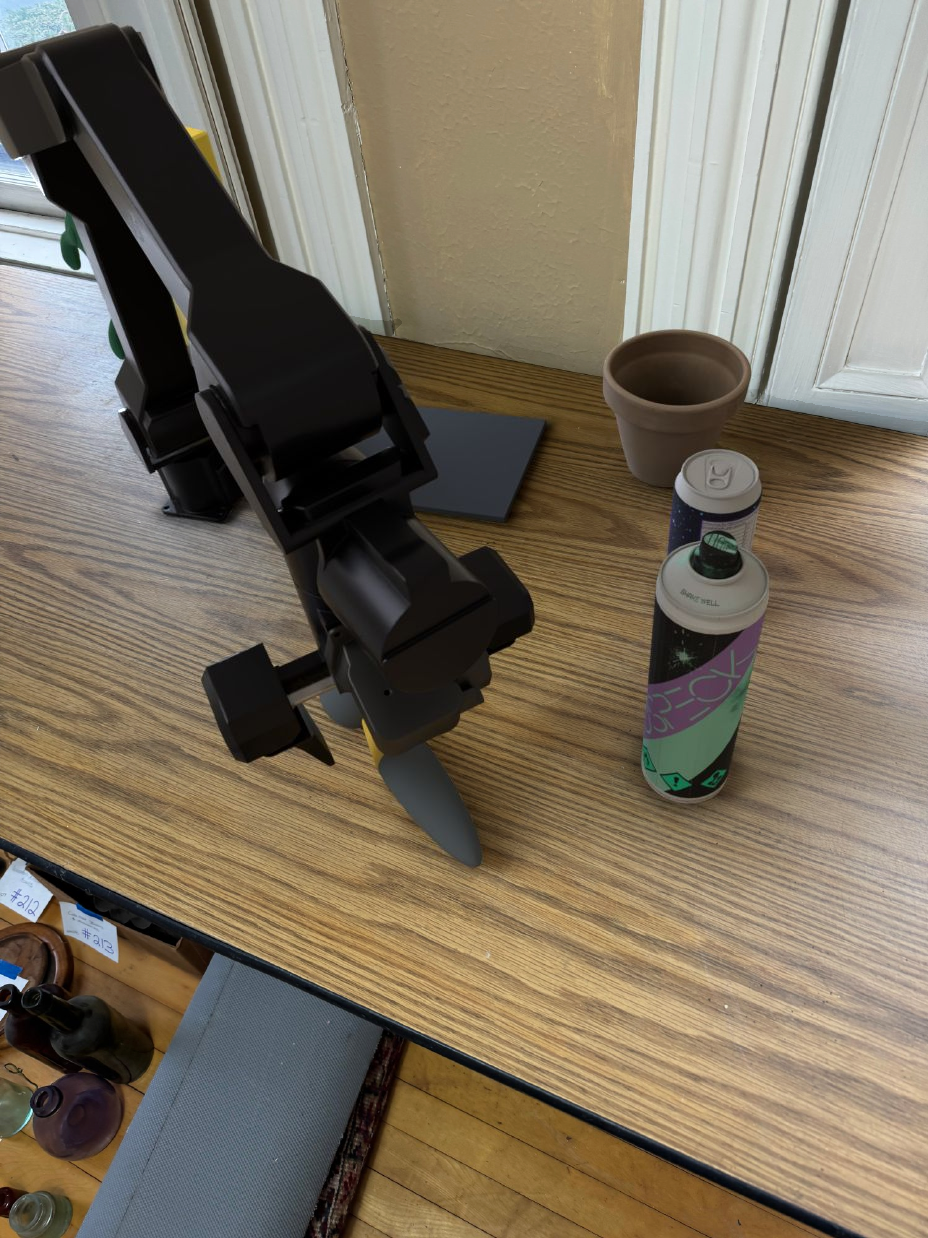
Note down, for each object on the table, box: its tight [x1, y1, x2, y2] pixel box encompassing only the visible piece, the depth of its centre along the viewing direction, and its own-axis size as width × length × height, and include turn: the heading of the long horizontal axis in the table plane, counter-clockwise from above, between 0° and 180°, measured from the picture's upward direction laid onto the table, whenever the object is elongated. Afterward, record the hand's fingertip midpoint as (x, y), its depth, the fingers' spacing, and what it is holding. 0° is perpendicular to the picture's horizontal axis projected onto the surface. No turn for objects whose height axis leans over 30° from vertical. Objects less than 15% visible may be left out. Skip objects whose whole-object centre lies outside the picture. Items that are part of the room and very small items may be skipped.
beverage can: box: [666, 448, 763, 557], centre depth 60 cm, size 6×6×12 cm
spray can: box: [640, 530, 770, 805], centre depth 48 cm, size 6×6×20 cm
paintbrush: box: [318, 688, 484, 868], centre depth 56 cm, size 20×5×5 cm, turn 38°
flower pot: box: [602, 328, 752, 488], centre depth 71 cm, size 12×11×10 cm
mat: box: [353, 405, 548, 524], centre depth 80 cm, size 22×14×1 cm, turn 72°
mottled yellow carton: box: [59, 125, 225, 361], centre depth 85 cm, size 18×12×24 cm
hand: (395, 729), depth 55 cm, fingers open, 9 cm apart
